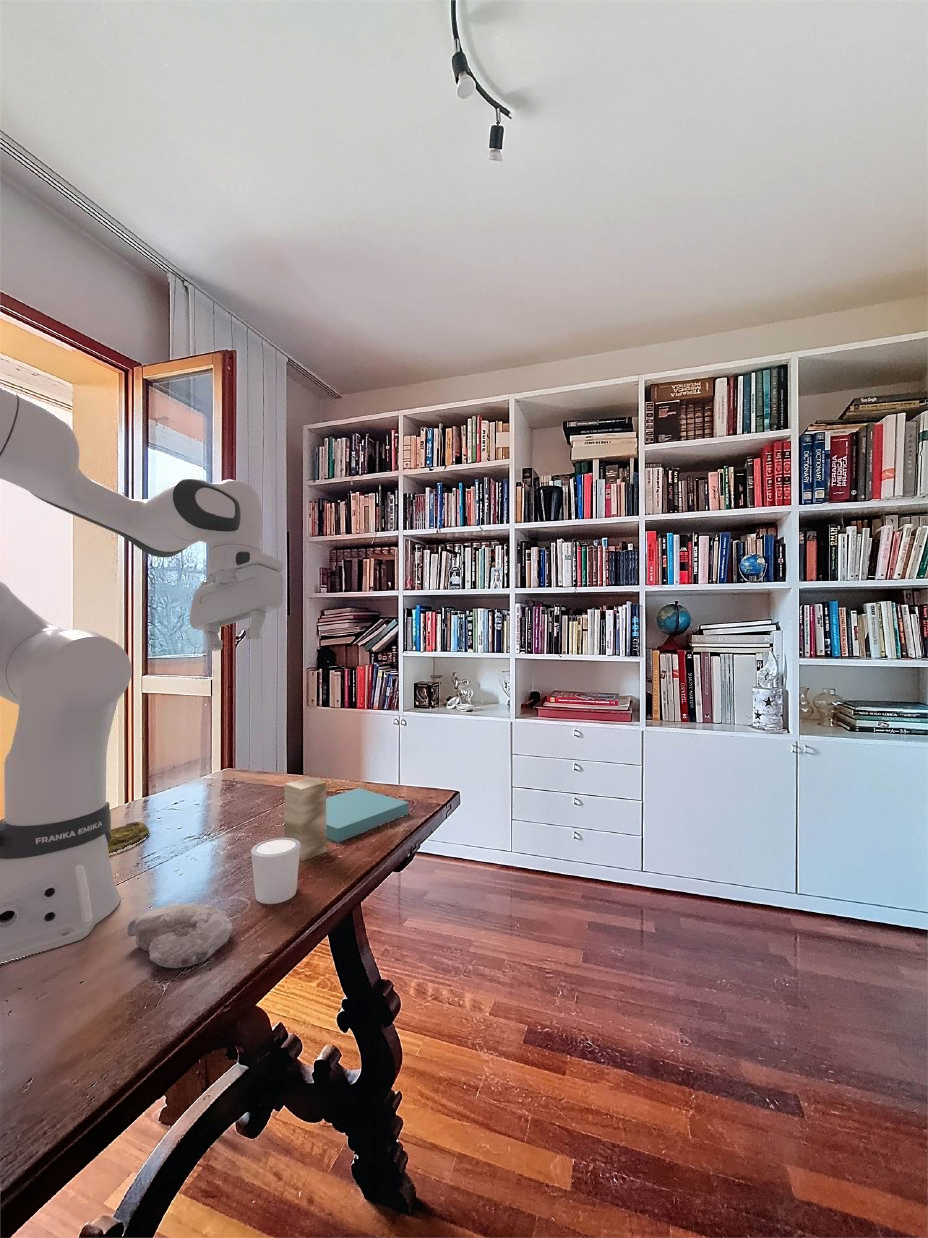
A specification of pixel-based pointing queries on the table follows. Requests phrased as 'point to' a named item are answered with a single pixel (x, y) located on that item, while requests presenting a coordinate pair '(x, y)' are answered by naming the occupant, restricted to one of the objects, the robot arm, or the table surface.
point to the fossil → (181, 933)
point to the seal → (127, 836)
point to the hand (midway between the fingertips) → (233, 644)
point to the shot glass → (275, 869)
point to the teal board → (360, 812)
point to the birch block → (306, 815)
